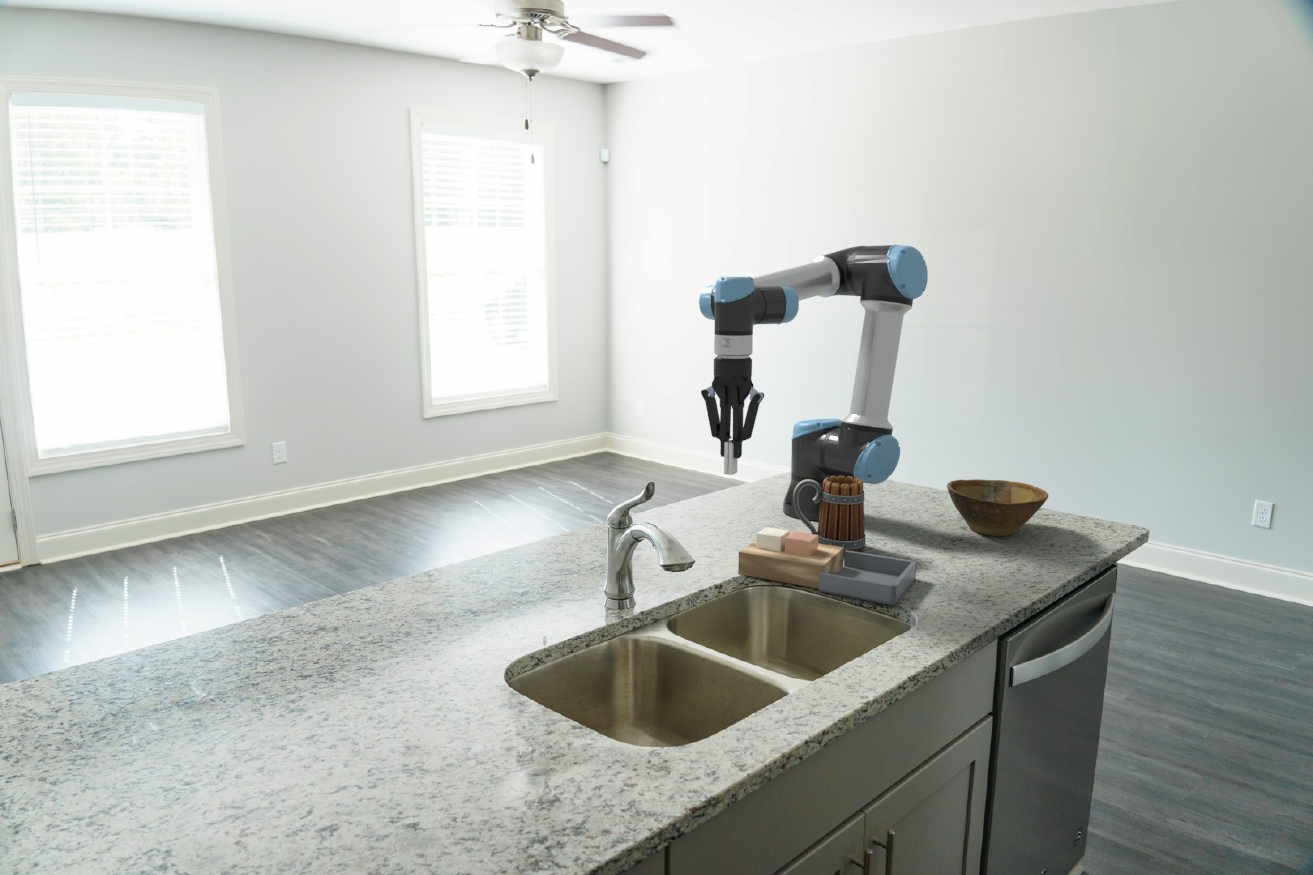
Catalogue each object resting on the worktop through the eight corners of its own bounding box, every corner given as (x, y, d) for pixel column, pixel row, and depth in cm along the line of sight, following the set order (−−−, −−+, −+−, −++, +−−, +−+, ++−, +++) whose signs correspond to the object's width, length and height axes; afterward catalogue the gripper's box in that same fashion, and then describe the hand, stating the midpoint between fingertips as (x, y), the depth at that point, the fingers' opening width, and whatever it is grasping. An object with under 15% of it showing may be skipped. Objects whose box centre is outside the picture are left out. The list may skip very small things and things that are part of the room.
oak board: (763, 555, 185) (764, 534, 184) (842, 568, 177) (843, 547, 176) (738, 573, 174) (738, 551, 173) (821, 589, 166) (822, 566, 165)
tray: (845, 566, 178) (845, 550, 177) (915, 578, 171) (916, 561, 171) (818, 591, 164) (819, 573, 164) (894, 605, 158) (895, 586, 157)
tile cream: (765, 541, 180) (766, 527, 179) (789, 544, 177) (789, 530, 177) (756, 547, 175) (756, 533, 175) (779, 551, 173) (780, 537, 172)
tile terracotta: (793, 545, 177) (794, 531, 176) (817, 549, 174) (818, 535, 174) (784, 552, 173) (785, 537, 172) (809, 556, 170) (809, 541, 170)
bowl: (1053, 526, 207) (1056, 484, 205) (1035, 552, 188) (1039, 506, 186) (957, 512, 218) (960, 472, 217) (931, 535, 200) (934, 492, 198)
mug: (862, 541, 195) (865, 475, 192) (868, 556, 185) (872, 486, 182) (790, 538, 196) (792, 473, 194) (792, 554, 186) (795, 484, 183)
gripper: (694, 356, 174) (692, 473, 178) (756, 359, 167) (753, 480, 172) (710, 353, 180) (709, 466, 185) (771, 356, 174) (768, 473, 178)
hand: (730, 473), depth 178 cm, fingers closed
